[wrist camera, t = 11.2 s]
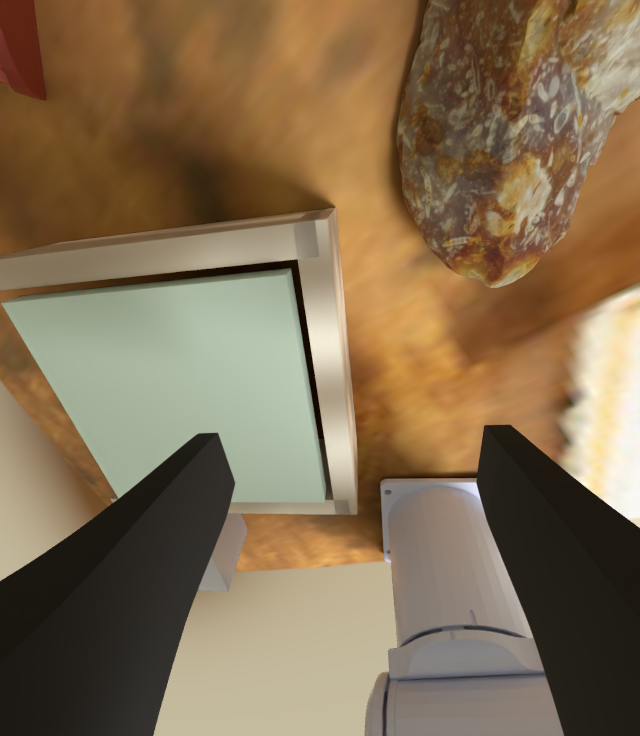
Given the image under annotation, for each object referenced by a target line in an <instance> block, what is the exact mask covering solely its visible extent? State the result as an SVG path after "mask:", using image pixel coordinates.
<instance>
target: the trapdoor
mask: <svg viewBox="0 0 640 736" xmlns="http://www.w3.org/2000/svg"><path fill="white" fill-rule="evenodd" d="M1 304H2V306H3V307H4V309H5V311H6V312H7V314H8V316H9V317H10V319H11V321H12V322H13V324H14V326H15V327H16V329H17V331H18V332H19V334H20V336H21V337H22V339H23V341H24V342H25V344H26V345H27V347H28V349H29V350H30V352H31V354H32V355H33V357H34V359H35V360H36V362H37V364H38V365H39V367H40V369H41V370H42V372H43V374H44V375H45V377H46V379H47V380H48V382H49V384H50V385H51V387H52V389H53V390H54V392H55V394H56V395H57V397H58V399H59V400H60V402H61V404H62V405H63V407H64V409H65V410H66V412H67V414H68V415H69V417H70V419H71V420H72V422H73V424H74V425H75V427H76V429H77V430H78V432H79V434H80V435H81V437H82V438H83V440H84V442H85V443H86V445H87V447H88V448H89V450H90V452H91V453H92V455H93V457H94V458H95V460H96V462H97V463H98V465H99V467H100V468H101V470H102V472H103V473H104V475H105V477H106V478H107V480H108V482H109V483H110V485H111V487H112V488H113V490H114V492H115V493H116V495H117V497H118V498H120V497H121V496H123V495H124V494H125V493H126V492H128V491H129V490H130V489H131V488H133V487H134V486H135V485H136V484H137V483H139V482H140V481H141V480H142V479H143V478H145V477H146V476H147V475H148V474H149V473H151V472H152V471H153V470H154V469H155V468H157V467H158V466H159V465H160V464H161V463H163V462H164V461H165V460H166V459H167V458H169V457H170V456H171V455H172V454H173V453H174V452H176V451H177V450H178V449H179V448H180V447H182V446H183V445H184V444H185V443H186V442H188V441H189V440H190V439H191V438H193V437H194V436H195V435H197V434H198V433H218V434H219V437H220V440H221V443H222V445H223V448H224V451H225V454H226V457H227V460H228V463H229V466H230V469H231V472H232V474H233V477H234V480H235V487H234V491H233V495H232V499H231V502H293V503H325V495H326V482H325V476H324V470H323V464H322V457H321V451H320V445H319V439H318V433H317V426H316V420H315V414H314V408H313V402H312V395H311V389H310V383H309V377H308V370H307V364H306V358H305V352H304V346H303V339H302V333H301V327H300V321H299V315H298V308H297V302H296V296H295V290H294V284H293V277H292V271H291V268H288V269H278V270H269V271H259V272H249V273H239V274H229V275H220V276H210V277H200V278H190V279H180V280H171V281H161V282H151V283H141V284H131V285H122V286H112V287H102V288H92V289H82V290H73V291H63V292H53V293H43V294H33V295H24V296H20V297H17V298H14V299H11V300H8V301H6V302H3V303H1Z"/></svg>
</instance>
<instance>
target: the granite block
mask: <svg viewBox="0 0 640 736" xmlns="http://www.w3.org/2000/svg"><path fill="white" fill-rule="evenodd" d="M247 531H248V530H247V527H246V524H245V522H244V519H243V516H242V513H228V514H227V518H226V520H225V523H224V526H223V528H222V531H221V533H220V536H219V538H218V541H217V543H216V546H215V548H214V551H213V553H212V556H211V558H210V561H209V563H208V566H207V568H206V571H205V573H204V576H203V578H202V581H201V583H200V586H199V588H198V590H201V591H202V590H203V591H224V592H228V591H229V588H230V585H231V581H232V578H233V575H234V572H235V569H236V566H237V563H238V559H239V556H240V553H241V550H242V547H243V544H244V541H245V537H246V534H247Z"/></svg>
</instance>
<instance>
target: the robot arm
mask: <svg viewBox="0 0 640 736" xmlns="http://www.w3.org/2000/svg"><path fill="white" fill-rule="evenodd" d="M234 487H235V480H234V477H233V474H232V472H231V469H230V466H229V463H228V460H227V457H226V454H225V451H224V448H223V445H222V443H221V440H220V437H219V434H218V433H198V434H197V435H195V436H194V437H193V438H191V439H190V440H189V441H188V442H186V443H185V444H184V445H183V446H182V447H180V448H179V449H178V450H177V451H176V452H174V453H173V454H172V455H171V456H170V457H169V458H167V459H166V460H165V461H164V462H163V463H161V464H160V465H159V466H158V467H157V468H155V469H154V470H153V471H152V472H151V473H149V474H148V475H147V476H146V477H145V478H143V479H142V480H141V481H140V482H139V483H137V484H136V485H135V486H134V487H133V488H131V489H130V490H129V491H128V492H126V493H125V494H124V495H123V496H121V497H120V498H119V499H117V500H116V501H115V502H114V503H112V504H111V505H110V506H108V507H107V508H106V509H105V510H104V511H102V512H101V513H100V514H98V515H97V516H96V517H94V518H93V519H92V520H90V521H89V522H88V523H86V524H85V525H84V526H82V527H81V528H80V529H78V530H77V531H75V532H74V533H73V534H71V535H70V536H68V537H67V538H66V539H64V540H63V541H61V542H60V543H58V544H57V545H55V546H54V547H52V548H51V549H50V550H48V551H47V552H46V553H44V554H42V555H41V556H39V557H38V558H36V559H35V560H33V561H32V562H30V563H29V564H27V565H26V566H24V567H22V568H21V569H19V570H18V571H16V572H14V573H13V574H11V575H9V576H8V577H6V578H5V579H3V580H1V581H0V736H153V734H154V730H155V726H156V723H157V719H158V715H159V711H160V708H161V704H162V700H163V697H164V693H165V690H166V687H167V683H168V679H169V676H170V672H171V669H172V665H173V662H174V659H175V655H176V652H177V649H178V646H179V642H180V639H181V636H182V632H183V629H184V626H185V622H186V620H187V617H188V614H189V611H190V609H191V606H192V603H193V600H194V598H195V595H196V593H197V591H198V588H199V586H200V583H201V581H202V578H203V576H204V573H205V571H206V568H207V566H208V563H209V561H210V558H211V556H212V553H213V551H214V548H215V546H216V543H217V541H218V538H219V536H220V533H221V531H222V528H223V526H224V523H225V520H226V518H227V514H228V510H229V507H230V503H231V499H232V495H233V491H234ZM380 488H381V508H382V528H383V548H384V560H385V561H386V562H389V563H391V569H392V583H393V595H394V607H395V620H396V633H397V646H398V648H394V649H389V650H388V659H389V672H383V673H381V674H380V675H379V676H378V678H377V680H376V682H375V685H374V687H373V689H372V691H371V693H370V696H369V699H368V703H367V709H366V718H365V736H640V528H639V527H638V526H636V525H635V524H634V523H632V522H631V521H629V520H628V519H627V518H625V517H624V516H623V515H621V514H620V513H619V512H617V511H616V510H614V509H613V508H612V507H610V506H609V505H608V504H607V503H605V502H604V501H603V500H601V499H600V498H599V497H597V496H596V495H595V494H594V493H592V492H591V491H590V490H588V489H587V488H586V487H585V486H583V485H582V484H581V483H580V482H578V481H577V480H576V479H575V478H573V477H572V476H571V475H570V474H568V473H567V472H566V471H565V470H564V469H562V468H561V467H560V466H559V465H558V464H556V463H555V462H554V461H553V460H552V459H550V458H549V457H548V456H547V455H546V454H544V453H543V452H542V451H541V450H540V449H538V448H537V447H536V446H535V445H534V444H533V443H531V442H530V441H529V440H528V439H527V438H526V437H524V436H523V435H522V434H521V433H520V432H518V431H517V430H516V429H515V428H514V427H512V426H511V425H484V432H483V438H482V445H481V452H480V459H479V466H478V473H477V478H413V479H384V480H382V481H381V483H380ZM387 490H388V491H387Z"/></svg>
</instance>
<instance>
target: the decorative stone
mask: <svg viewBox="0 0 640 736" xmlns="http://www.w3.org/2000/svg"><path fill="white" fill-rule="evenodd" d="M420 41H421V44H420V46H419V48H418V49H417V51H416V53H415V57H414V60H413V64H412V67H411V70H410V73H409V76H408V78H407V81H406V84H405V87H404V89H403V92H402V101H401V109H400V114H399V119H398V126H397V133H396V146H397V150H398V158H399V166H400V170H401V174H402V191H403V197H404V201H405V204H406V207H407V209H408V211H409V213H410V214H411V216H412V218H413V219H414V220H415V221H416V224H417V226H418V228H419V231H420V232H421V234H422V236H423V238H424V240H425V241H426V243H427V245H428V246H429V248H430V249H431V250H432V251H433V252H434V253H435V254H436V255H437V256H438V257H439V258H440V259H441V260H442V261H443V262H444V264H445V265H446V266H447V267H448V268H449V269H451V270H452V271H454V272H455V273H457V274H459V275H462V276H464V277H473V278H476V279H478V280H480V281H481V282H482V283H484V284H485V285H486V286H488V287H490V288H493V287H495V288H498V287H500V286H504V285H507V284H509V283H512V282H514V281H516V280H517V279H519V278H521V277H522V276H524V275H525V274H527V273H528V272H529V271H530V270H531V269H532V268H533V267H534V266H535V265H536V263H537V262H538V260H539V259H540V258H541V257H543V256H544V255H546V254H548V253H549V252H550V251H551V250H552V248H553V245H555V244H556V243H557V242H558V241H559V240H561V239H562V238H564V236H565V235H566V233H567V231H568V230H569V227H570V224H571V222H572V217H573V213H574V209H575V205H576V201H577V199H578V197H579V195H580V189H581V185H582V184H583V182H584V181H585V180H586V175H587V170H588V168H589V167H592V166H593V165H594V164H596V162H597V160H598V158H599V156H600V154H601V152H602V150H603V148H604V145H605V143H606V139H607V134H608V131H609V130H610V128H611V127H612V125H613V124H614V122H615V119H616V116H617V115H619V114H622V113H623V112H624V110H625V109H626V107H627V106H628V105H629V104H630V103H631V102H632V101H634V100H638V99H640V0H428V3H427V7H426V10H425V14H424V19H423V28H422V33H421V37H420Z"/></svg>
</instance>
